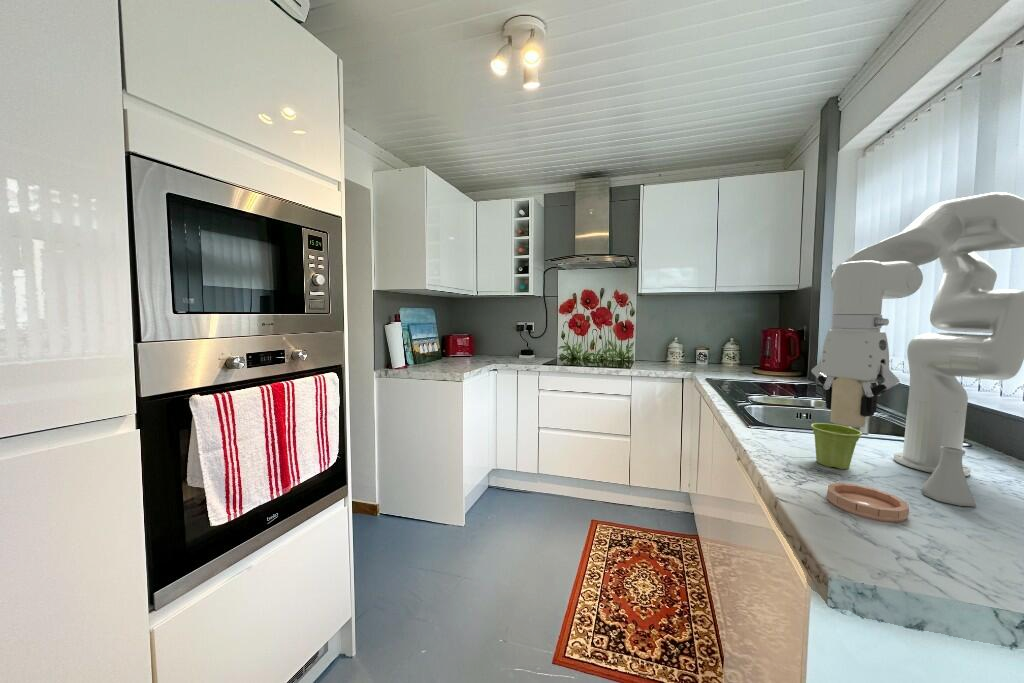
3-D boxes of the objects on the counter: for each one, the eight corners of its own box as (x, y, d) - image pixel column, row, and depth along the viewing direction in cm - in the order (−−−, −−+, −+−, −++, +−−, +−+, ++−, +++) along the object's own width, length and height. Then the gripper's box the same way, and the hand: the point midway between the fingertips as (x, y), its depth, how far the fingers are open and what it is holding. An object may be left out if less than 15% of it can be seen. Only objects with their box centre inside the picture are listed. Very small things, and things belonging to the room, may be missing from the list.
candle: (871, 428, 80) (875, 378, 79) (839, 426, 81) (842, 377, 80) (854, 420, 85) (857, 373, 84) (824, 419, 86) (827, 372, 85)
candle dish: (849, 490, 81) (850, 480, 81) (921, 516, 71) (922, 505, 71) (813, 497, 77) (814, 487, 77) (883, 526, 67) (884, 514, 67)
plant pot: (869, 470, 92) (872, 433, 91) (839, 474, 89) (842, 435, 89) (827, 456, 101) (829, 422, 100) (798, 459, 98) (801, 424, 98)
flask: (958, 494, 80) (963, 445, 80) (986, 510, 74) (992, 457, 73) (912, 488, 83) (916, 440, 82) (935, 503, 76) (941, 451, 75)
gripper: (921, 325, 75) (913, 420, 76) (822, 322, 91) (817, 401, 92) (897, 325, 72) (889, 425, 74) (799, 322, 88) (794, 404, 90)
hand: (849, 411), depth 83 cm, fingers closed on candle, 5 cm apart
